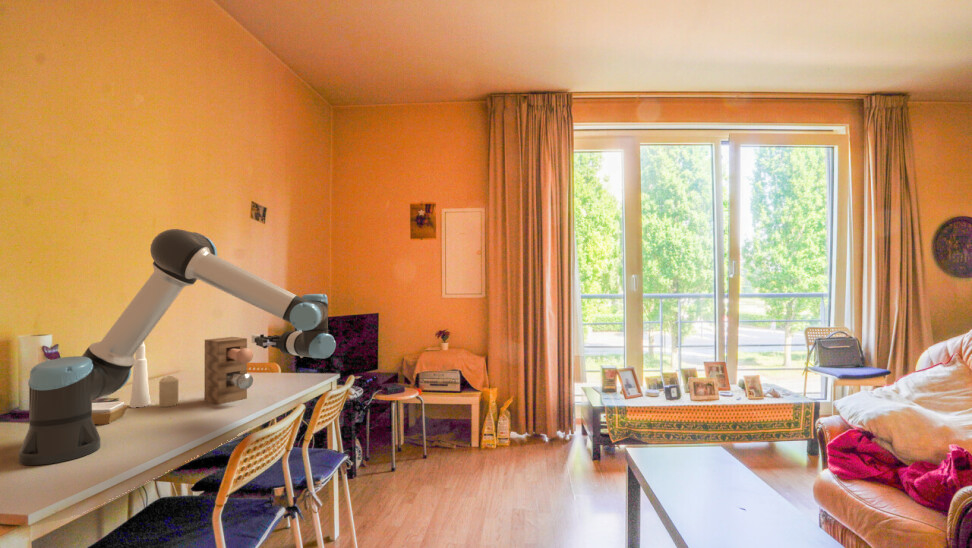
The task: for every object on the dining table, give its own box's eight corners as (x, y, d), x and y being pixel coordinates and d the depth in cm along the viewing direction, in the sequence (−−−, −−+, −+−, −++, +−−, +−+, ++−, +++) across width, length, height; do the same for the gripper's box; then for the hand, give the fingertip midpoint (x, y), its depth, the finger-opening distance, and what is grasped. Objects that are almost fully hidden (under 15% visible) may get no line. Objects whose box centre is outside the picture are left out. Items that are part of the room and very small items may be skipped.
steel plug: (253, 387, 164) (253, 372, 164) (238, 390, 160) (238, 375, 160) (235, 383, 170) (235, 369, 170) (221, 386, 166) (221, 372, 166)
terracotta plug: (253, 362, 164) (253, 347, 164) (238, 364, 160) (238, 349, 160) (236, 359, 170) (236, 345, 170) (221, 361, 166) (221, 346, 166)
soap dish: (62, 428, 137) (62, 411, 137) (82, 418, 147) (83, 402, 147) (111, 425, 140) (111, 408, 140) (128, 416, 149) (128, 400, 149)
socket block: (246, 398, 170) (246, 338, 171) (218, 404, 162) (219, 341, 162) (232, 394, 176) (232, 336, 176) (204, 400, 167) (204, 339, 168)
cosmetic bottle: (143, 402, 165) (143, 340, 165) (155, 404, 163) (155, 341, 163) (125, 407, 159) (125, 343, 159) (137, 408, 157) (137, 343, 157)
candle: (181, 404, 163) (181, 375, 163) (163, 407, 158) (163, 378, 158) (173, 402, 166) (173, 374, 166) (156, 405, 161) (156, 376, 161)
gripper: (276, 358, 141) (234, 352, 154) (313, 352, 152) (271, 347, 165) (276, 333, 141) (234, 329, 154) (313, 329, 152) (271, 326, 165)
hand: (253, 338), depth 160 cm, fingers closed
